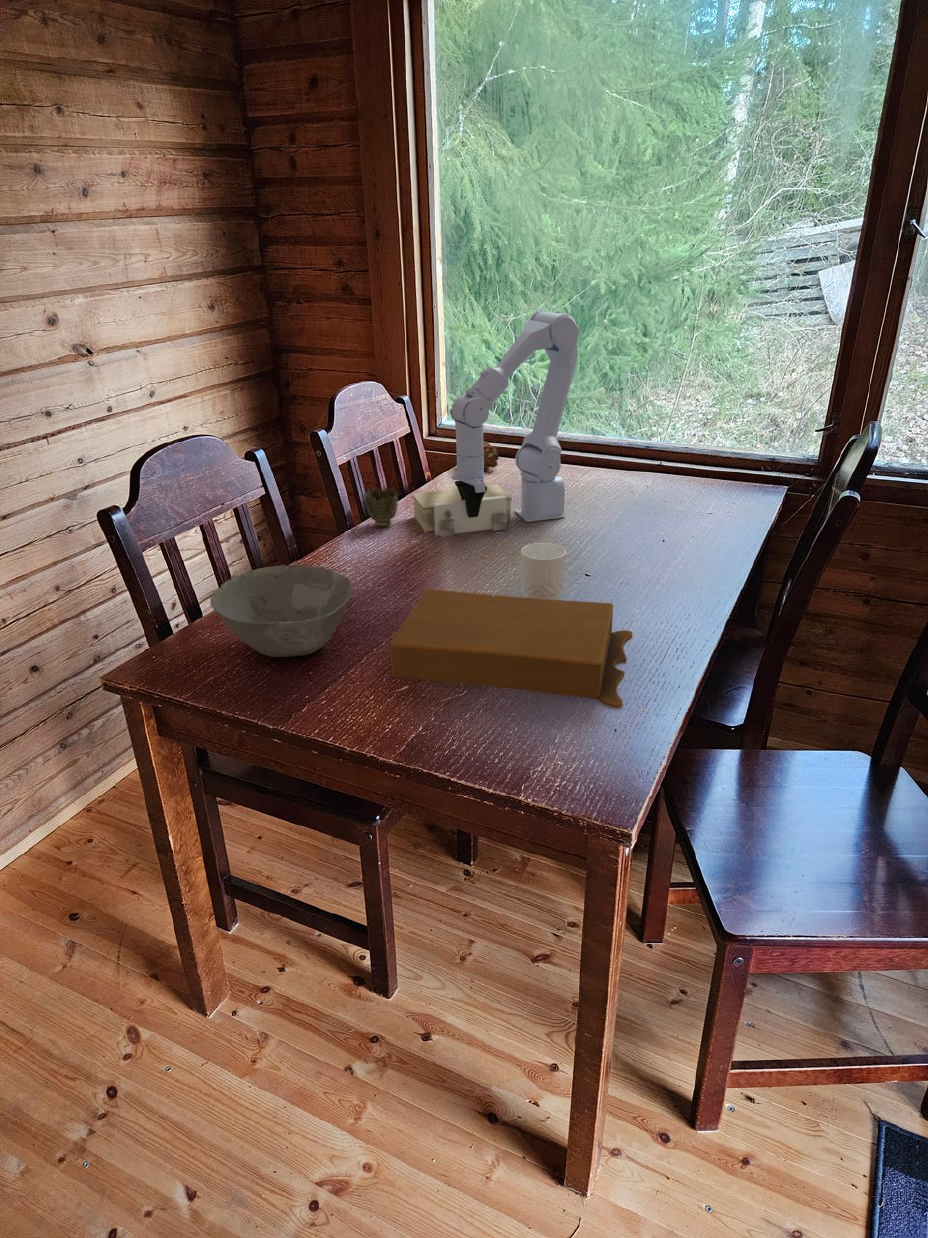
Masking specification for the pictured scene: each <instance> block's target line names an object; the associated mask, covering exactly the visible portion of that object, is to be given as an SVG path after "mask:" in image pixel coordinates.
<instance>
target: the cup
mask: <svg viewBox="0 0 928 1238" xmlns="http://www.w3.org/2000/svg"><path fill="white" fill-rule="evenodd" d="M398 494H399V492H398V491H397V489H396V490H395V489H394V488H393V487H391V488H389V487H386V488H385V489H384V490H381V488H380V487H377V488H376V487H373V488H371V490H370V489H367V491H366V490H365V491H364V493H363V495H364V500H365V505H366V506H365V507H366V510H367V513H368V516H369V517H370V518H371V520H373V521H374V525H375V526H376V528H379V529H380V528H381V529H384V528H388V527H390V526H391V524H392V521H391V520H392V519H394V518H395V516H396V514H397V511H398V510H397V509H398Z"/></svg>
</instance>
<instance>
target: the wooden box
mask: <svg viewBox="0 0 928 1238" xmlns="http://www.w3.org/2000/svg"><path fill="white" fill-rule="evenodd" d="M613 616H614V604H613V603H612V602H595V601H581V600H580V601H579V600H563V599H561V600H552V599H537V598H524V596H523V597H522V596H521V597H520V596H519V597H518V596H509V595H508V596H506V595H493V594H486V593H476V592H465V591H452V590H451V591H450V590H442V589H431V588H427V589H426V590H425V591H424V593H423V594H422V595H421V597H420V599H419V600H418V602H417V603H416V605H415V606H414V607H413V609H412V610H411V612H410V613H409V614H408V615H407V618H405V620H404V622H403V624H402V625H401V626H400V628H399V629H398V631H397V632H396V634H394V637H393V638H392V640H391V641H390V642H389V650H390V651H389V652H390V662H391V663H390V664H391V675H392V677H394V678H403V679H410V680H411V679H412V680H421V681H423V680H424V681H433V682H444V683H457V684H465V685H466V684H467V685H477V686H486V687H494V688H496V687H497V688H503V689H511V690H512V689H513V690H520V691H528V692H536V693H544V694H551V695H552V694H553V695H559V696H560V695H562V696H566V697H567V696H569V697H576V698H583V699H591V700H598V701H599V702H600V703H602V704H603V705H606V706H608V707H612V708H622V707H623V705H624V704H623V703H624V702H623V700H622V699H621V697H620V695H619V694H618V691H617V689H618V685H619V683H620V681H621V680H622V678H623V677H624V676H625V672H626V671H625V670H621V669H618V668H617V667H616V666H615V665H618V664H619V663H621V662H627V656H626V653H625V651H624V645H625V643H626V642H627V641H628V640H629V639H631V638H632V637H633V632H632V631H630V630H625V629H624V630H618V631H613Z"/></svg>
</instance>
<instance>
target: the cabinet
mask: <svg viewBox="0 0 928 1238" xmlns="http://www.w3.org/2000/svg"><path fill="white" fill-rule="evenodd" d="M485 486H486V487H487V491H486V492H485V494H484V496H483V498H486V497H495V496H503V495H504V496H505V497H506V513H499V514H492V529H491V530H492V531H493V532H496V531H503V530H507V528H508V526H507V525H508V522H511V516H512V515H511V514H512V513H511V508H512V507H511V505H512V503H511V502H512V500H513V499H512V496H511V495H509V493H507V491H505V490H504V489H503V488H502V487H501V486H499V484H490V485H489V484H487V485H485ZM411 495H412V499H413V515H414V516H413V517H414V519H415V520H416V521H417V523H418V524H419V526H420V527H421V528H422V530H423V531H424V532H425V533H426V532H432V531H433V532H435V521H434V503H442V502H451V501H459V500H461V496H460V493H459V491H458V488H452V489H450V488H449V489H443V490H434V491H426V492H416V493H412V494H411ZM455 534H456V533H455ZM455 534H454V520H453V519H449V520H441V521H440V535H439V536H440V538H449V537H455Z"/></svg>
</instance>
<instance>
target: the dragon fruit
mask: <svg viewBox="0 0 928 1238" xmlns="http://www.w3.org/2000/svg"><path fill="white" fill-rule="evenodd" d="M483 454H484V473H485V472H488V471H489V469H490V468H491V469H492V468H496V467H497V466H498V460H499V459H500V457H499V455H498V451H497V449H496V448H495V447H494V446H492V445H491V444H490V443H488V442H487V441H484V440H483Z"/></svg>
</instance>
